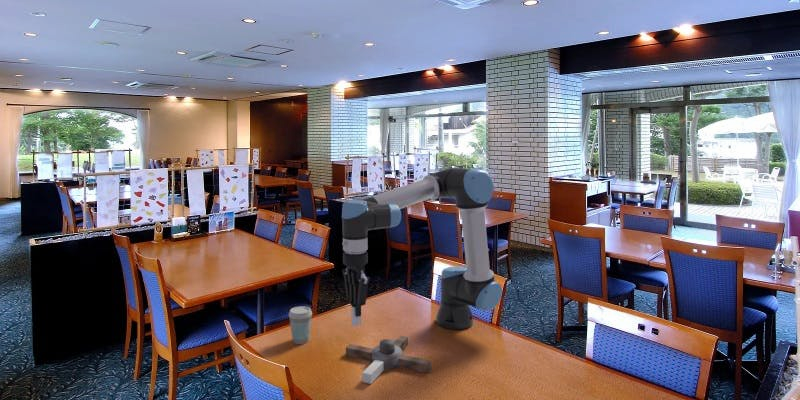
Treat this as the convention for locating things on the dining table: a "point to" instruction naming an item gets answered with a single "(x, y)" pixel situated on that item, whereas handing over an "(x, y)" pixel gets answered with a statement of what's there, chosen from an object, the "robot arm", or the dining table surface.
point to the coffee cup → (300, 324)
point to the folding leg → (372, 371)
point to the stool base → (390, 355)
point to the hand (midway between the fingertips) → (356, 324)
